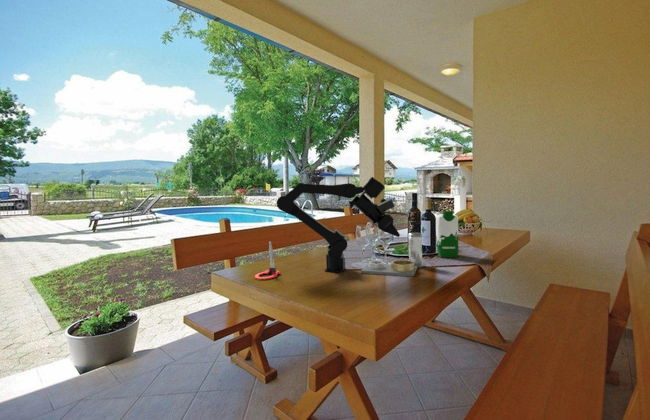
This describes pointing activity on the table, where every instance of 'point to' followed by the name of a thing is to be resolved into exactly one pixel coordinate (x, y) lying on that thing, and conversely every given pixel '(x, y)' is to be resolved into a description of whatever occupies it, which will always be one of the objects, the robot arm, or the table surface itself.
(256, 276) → the tow hook
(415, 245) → the disc
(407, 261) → the wide brass socket
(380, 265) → the narrow aluminium socket
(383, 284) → the table surface
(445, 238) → the milk carton
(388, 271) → the fitting board
